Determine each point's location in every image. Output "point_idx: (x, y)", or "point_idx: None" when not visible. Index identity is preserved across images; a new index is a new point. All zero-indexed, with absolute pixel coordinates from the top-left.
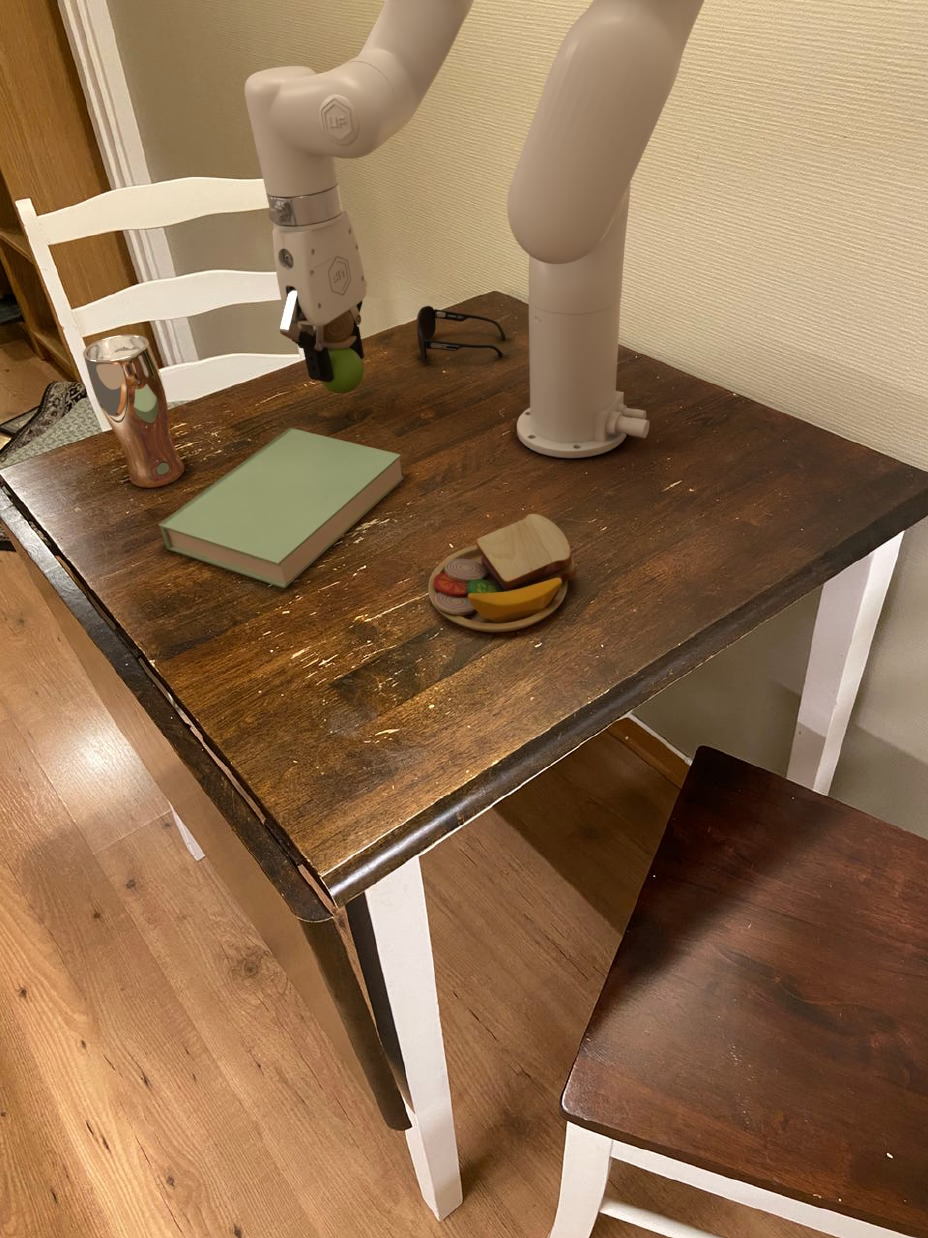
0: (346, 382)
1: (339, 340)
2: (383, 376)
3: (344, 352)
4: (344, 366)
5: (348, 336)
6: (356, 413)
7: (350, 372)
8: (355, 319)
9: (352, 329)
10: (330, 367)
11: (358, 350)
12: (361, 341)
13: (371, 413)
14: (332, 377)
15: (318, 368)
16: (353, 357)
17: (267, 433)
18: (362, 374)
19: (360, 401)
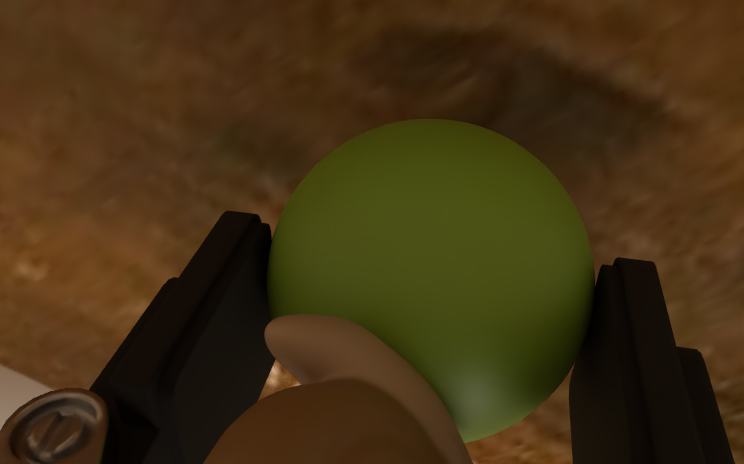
0: (549, 174)
1: (414, 426)
2: (80, 154)
3: (426, 320)
4: (532, 244)
5: (348, 387)
6: (429, 103)
7: (516, 181)
8: (85, 452)
9: (284, 406)
10: (647, 325)
11: (243, 260)
12: (177, 282)
13: (402, 28)
14: (634, 268)
15: (712, 395)
16: (407, 234)
17: (709, 371)
18: (397, 124)
19: (317, 142)
